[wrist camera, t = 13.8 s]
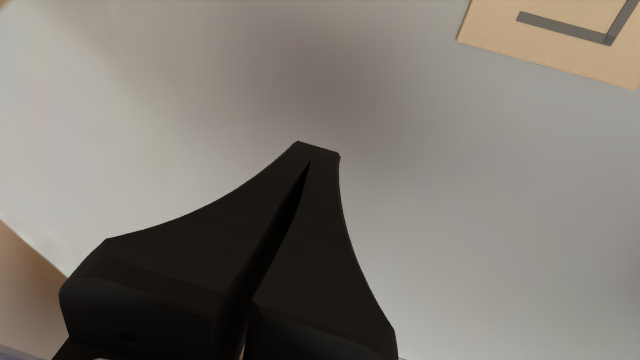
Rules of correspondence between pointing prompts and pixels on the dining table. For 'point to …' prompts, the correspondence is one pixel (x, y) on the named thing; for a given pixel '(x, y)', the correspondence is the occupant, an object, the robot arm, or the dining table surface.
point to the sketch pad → (562, 35)
